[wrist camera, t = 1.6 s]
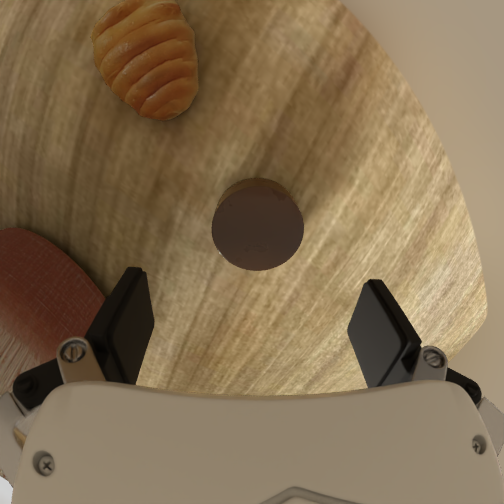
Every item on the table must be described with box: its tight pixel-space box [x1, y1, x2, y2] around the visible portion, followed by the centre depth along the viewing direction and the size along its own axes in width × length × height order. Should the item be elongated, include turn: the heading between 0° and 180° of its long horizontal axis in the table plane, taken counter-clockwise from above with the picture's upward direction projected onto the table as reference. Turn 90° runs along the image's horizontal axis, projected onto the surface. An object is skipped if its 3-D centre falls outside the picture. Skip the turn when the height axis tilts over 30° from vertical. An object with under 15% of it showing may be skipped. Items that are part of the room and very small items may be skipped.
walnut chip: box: [212, 178, 304, 271], centre depth 19 cm, size 6×6×2 cm
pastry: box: [90, 0, 199, 121], centre depth 12 cm, size 9×7×4 cm
